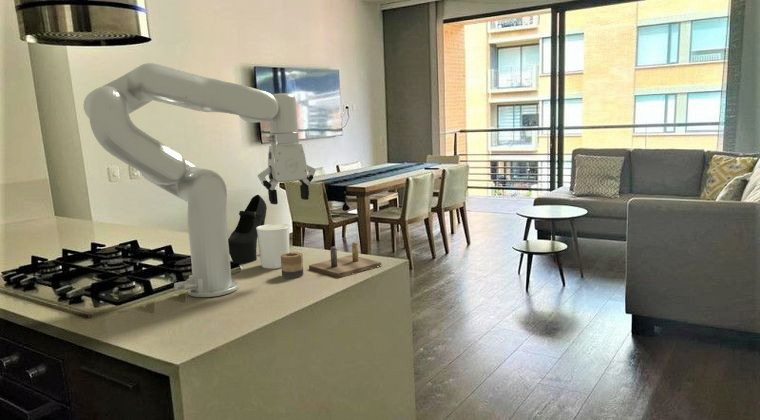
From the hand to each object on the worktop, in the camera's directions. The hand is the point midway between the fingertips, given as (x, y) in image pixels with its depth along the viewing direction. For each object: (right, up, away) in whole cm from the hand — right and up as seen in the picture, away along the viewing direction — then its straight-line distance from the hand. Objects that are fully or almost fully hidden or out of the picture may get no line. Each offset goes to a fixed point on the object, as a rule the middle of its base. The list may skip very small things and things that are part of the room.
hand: (289, 201), depth 152 cm
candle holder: (-7, -19, +15) cm, 25 cm away
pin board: (+15, -19, +9) cm, 26 cm away
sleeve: (+1, -21, +2) cm, 21 cm away
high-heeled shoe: (-16, -18, +23) cm, 34 cm away
